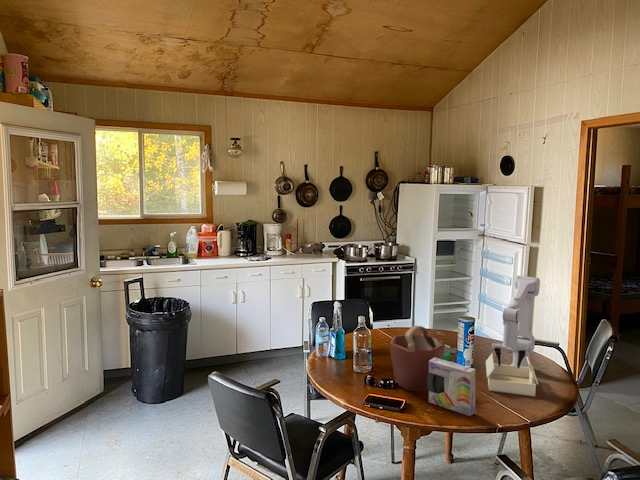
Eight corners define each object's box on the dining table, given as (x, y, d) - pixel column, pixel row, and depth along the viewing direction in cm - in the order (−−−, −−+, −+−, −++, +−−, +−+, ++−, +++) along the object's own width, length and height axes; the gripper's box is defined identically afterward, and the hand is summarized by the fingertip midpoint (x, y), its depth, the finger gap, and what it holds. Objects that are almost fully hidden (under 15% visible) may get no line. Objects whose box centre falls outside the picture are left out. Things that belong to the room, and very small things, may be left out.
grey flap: (486, 362, 226) (485, 361, 226) (492, 353, 225) (491, 353, 225) (488, 378, 207) (486, 377, 207) (494, 369, 206) (493, 368, 206)
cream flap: (537, 384, 201) (538, 384, 201) (531, 373, 202) (532, 373, 201) (531, 367, 220) (532, 366, 220) (526, 357, 221) (527, 356, 220)
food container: (430, 361, 241) (430, 341, 239) (440, 360, 243) (441, 340, 242) (445, 370, 229) (445, 349, 228) (456, 369, 231) (457, 348, 230)
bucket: (419, 399, 198) (422, 339, 195) (375, 383, 213) (377, 327, 210) (450, 382, 216) (453, 326, 213) (408, 368, 231) (409, 316, 228)
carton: (487, 373, 226) (487, 362, 226) (529, 378, 221) (530, 367, 221) (488, 390, 207) (489, 379, 207) (535, 396, 202) (535, 384, 202)
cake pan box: (425, 401, 197) (426, 358, 195) (432, 397, 200) (433, 355, 198) (469, 418, 183) (471, 372, 181) (475, 413, 187) (478, 368, 185)
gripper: (493, 336, 210) (491, 367, 212) (529, 340, 206) (527, 371, 208) (492, 332, 217) (490, 361, 219) (528, 335, 213) (526, 365, 214)
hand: (508, 366), depth 214 cm, fingers open, 7 cm apart
